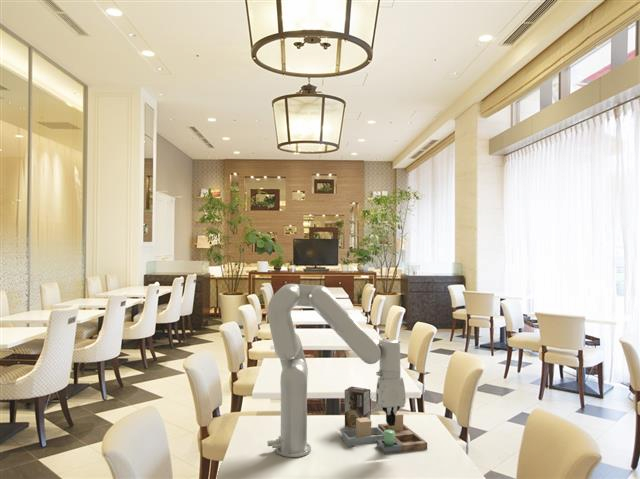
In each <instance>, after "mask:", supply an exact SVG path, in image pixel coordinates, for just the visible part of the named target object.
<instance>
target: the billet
mask: <svg viewBox="0 0 640 479" xmlns="http://www.w3.org/2000/svg"><path fill="white" fill-rule="evenodd" d="M371 428H372V420H371V419H370V420H369V419H368V418H367V417H365V418H356V436H355V438H357V437H366V436H372V434H371Z"/></svg>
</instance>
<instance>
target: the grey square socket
mask: <svg viewBox="0 0 640 479" xmlns="http://www.w3.org/2000/svg"><path fill="white" fill-rule="evenodd" d="M376 447H377V448H378V449H379V451H381V453H382V454H384V455H386V454H394V453H403V452H402V445H401V444H400V443H399V442H398V441H397V440H395V445H390V446H386V445H385V444H384V439H383V440H377V442H376Z"/></svg>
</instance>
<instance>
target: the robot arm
mask: <svg viewBox="0 0 640 479" xmlns="http://www.w3.org/2000/svg"><path fill="white" fill-rule="evenodd" d="M294 307H310V308H312V309H313V310H314V311H315V312H316V313H317V314H318V315H319V316H320V317H321V318H322V319H323V320H324V321H325V322H326V324H327V325H329V326H330V328H331V329H332V330H333V331H334V332H335V333H336V334H337V335H338V336H339V337H340V338H341V339H342V340H343V342H344V343H345V344H346V345H347V346H348V347H349V348H350V349H351V350H352V351H353V352H354V353H355V354H356V356H357V357H359V359H360V360H361V361H363V363H366V364H368V365H375V364H376V363H378V362H379V369H378V371H376V376H377V377H378V378H377V383H376V390H375V401H376V402H375V403H376V409H377V410H378V411H383V412H384V413H385V422H386V424H388V425H390V426H392V425H393V426H395V414H396V413H397V411H399V410H400V409H402V408H405V407H406V403H407V402H406V401H407V400H406V399H407V398H406V389H405V383H404V382H405V381H404V378H403V376H401V344H400V341H399V340H397V339H393V338H386V339H378V338H371V337H370V336H369V335H368V334H367V333H366V332H365V331H364V329H363V328H362V327H361V326H360V325H359V324H358V322H357V320H356V319H355V318H354V317H355V316H353V314H352V313H351V312H349V310H348V309H346V308H345V306H344V305H343V304H342V303H341V302H340V301H339V300H338V299H337V298H336V297H335V296H334V295H333V293H331V291H330V290H329V288H328V287H327V286H324V285H322V284H321V285H320V284H317V285H316V284H301V283H300V284H299V283H287V284H284V285H283V286H281V287H280V288H279V289H278V290H277V291H276V292H275V293H274V294H273V295H272V296H271V298H270V300H269V303H268V305H267V309H266V310H267V315H266V316H267V321H268V324H269V329H270V334H271V339H272V341H273V342H272V343H273V349H274V351H275V354H276V355H277V357H278V358H279V360H280V364H281V369H282V370H281V374H280V435H279V436H278V438H277V439H275V440H272V439H271V440H267V447H272V449H275V451H276V453H277V454H279V455H280V456H283V457H286V458H300V457H303V456H306V455H309V454H310V453H311V451H312V447H311V444H309V443H308V440H307V438H308V436H307V435H308V434H307V433H308V432H307V430H308V428H307V427H308V415H307V414H308V406H307V405H308V372H309V371H308V370H309V369H308V365H307V364H308V363H307V360H306V357H305V352H304V349H303V344H302V341H301V340H302V339H301V338H300V336H299V334H297V333H296V331H295V327H294V322H293V318H292V316H291V314H292V310H293V308H294Z"/></svg>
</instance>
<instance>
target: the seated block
mask: <svg viewBox="0 0 640 479" xmlns="http://www.w3.org/2000/svg"><path fill="white" fill-rule="evenodd" d="M403 424H404V413H402V412H401V411H399V410H398V411H397V413H396V414H395V426H393V425H392V426H390V425H388V430H393V431H395V432H396V431H403Z"/></svg>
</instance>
